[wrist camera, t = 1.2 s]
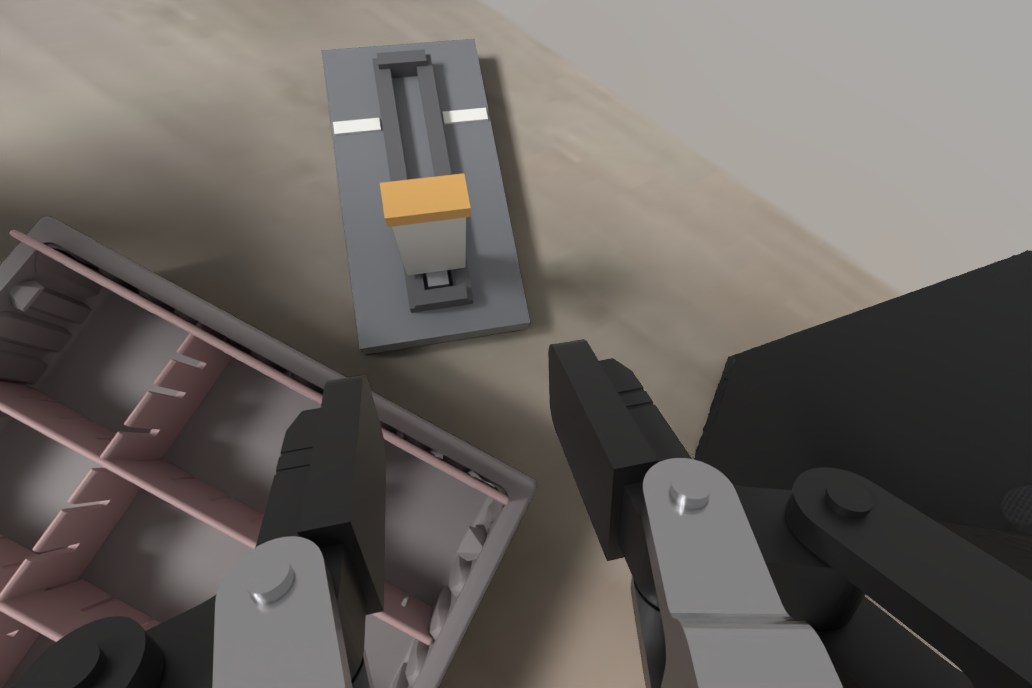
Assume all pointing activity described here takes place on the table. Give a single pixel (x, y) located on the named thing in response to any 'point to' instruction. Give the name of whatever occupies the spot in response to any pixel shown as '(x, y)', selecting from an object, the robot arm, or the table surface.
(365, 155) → the grey slider track base
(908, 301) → the black drawer cabinet
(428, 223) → the fader tab
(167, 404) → the organizer tray
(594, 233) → the table surface
